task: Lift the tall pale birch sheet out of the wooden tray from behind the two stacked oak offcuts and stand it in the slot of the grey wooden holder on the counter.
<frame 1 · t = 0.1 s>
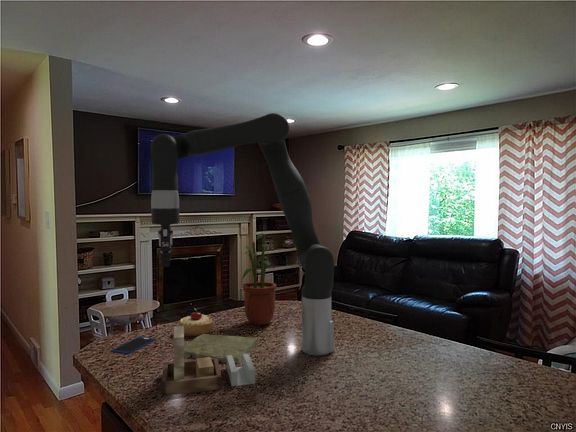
hand: (166, 264, 112), 29 cm above the kitchen island, tool pointing down, fingers open, 8 cm apart
slot stand: (240, 379, 104), on the kitchen island
pastry: (196, 333, 142), on the kitchen island
birch sheet: (179, 382, 100), point 1 cm above the kitchen island, touching wooden tray
wooden tray: (191, 384, 101), on the kitchen island
decorative tile: (218, 355, 123), on the kitchen island
oak offcut lower: (204, 379, 102), point 1 cm above the kitchen island, touching oak offcut upper, wooden tray
cell phone: (134, 347, 129), on the kitchen island
potted plant: (253, 323, 154), on the kitchen island
oak offcut upper: (204, 371, 102), point 3 cm above the kitchen island, touching oak offcut lower
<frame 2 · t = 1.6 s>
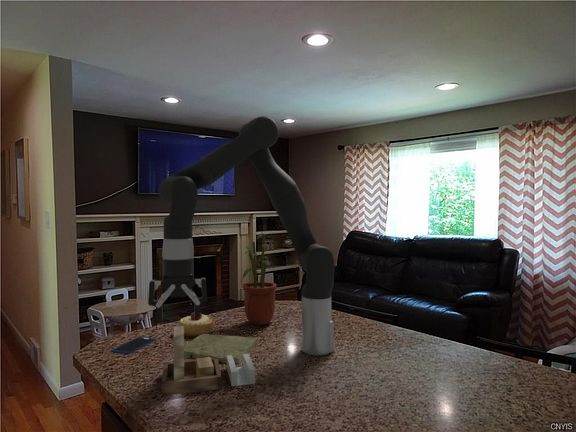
hand: (178, 320, 100), 17 cm above the kitchen island, tool pointing down, fingers open, 8 cm apart
nothing on the kitchen island moved.
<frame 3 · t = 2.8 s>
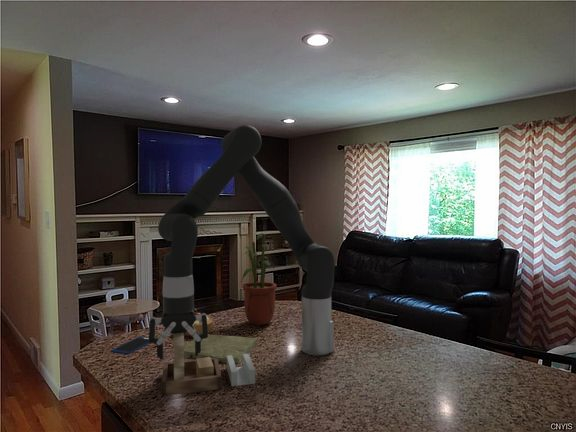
hand: (179, 356, 100), 8 cm above the kitchen island, tool pointing down, fingers open, 8 cm apart
nothing on the kitchen island moved.
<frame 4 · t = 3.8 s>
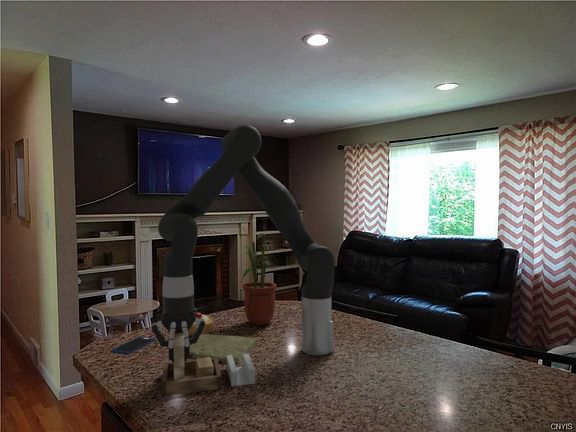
hand: (179, 360, 100), 7 cm above the kitchen island, tool pointing down, fingers closed on birch sheet, 2 cm apart
birch sheet: (179, 382, 100), point 1 cm above the kitchen island, touching gripper
everything else where it was.
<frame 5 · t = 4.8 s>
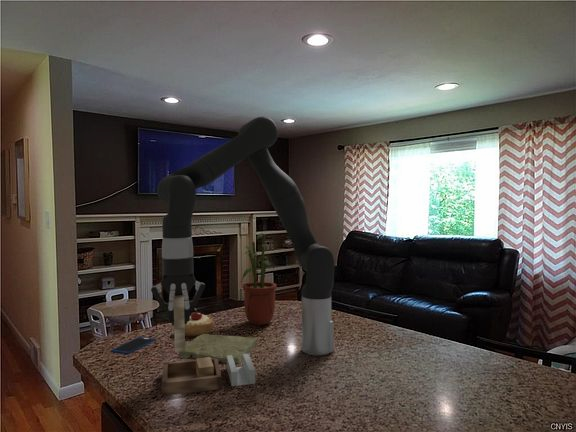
hand: (179, 323, 100), 16 cm above the kitchen island, tool pointing down, fingers closed on birch sheet, 2 cm apart
birch sheet: (180, 345, 100), point 10 cm above the kitchen island, touching gripper
everything else where it was.
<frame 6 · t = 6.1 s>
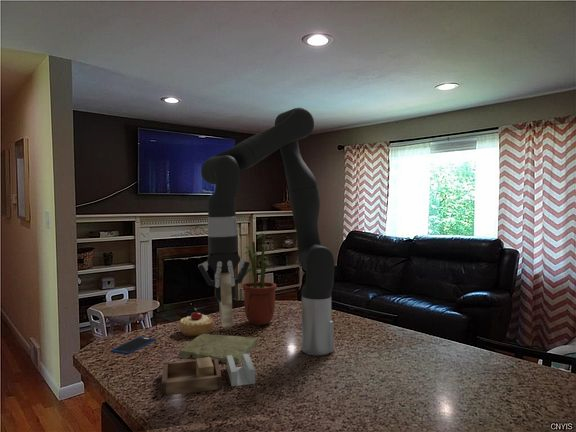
hand: (225, 300, 103), 21 cm above the kitchen island, tool pointing down, fingers closed on birch sheet, 2 cm apart
birch sheet: (226, 321, 103), point 16 cm above the kitchen island, touching gripper
everything else where it was.
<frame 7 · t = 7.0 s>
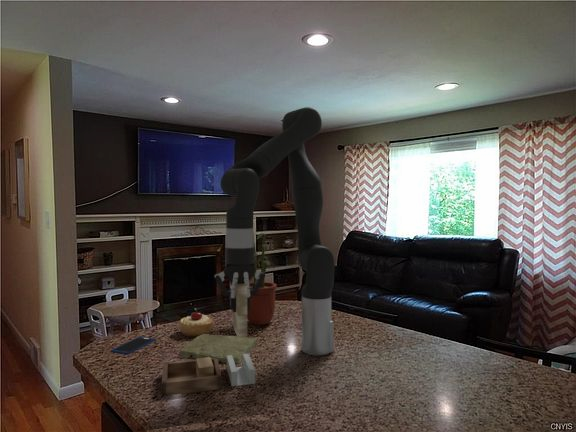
hand: (239, 310, 104), 18 cm above the kitchen island, tool pointing down, fingers closed on birch sheet, 2 cm apart
birch sheet: (240, 331, 104), point 13 cm above the kitchen island, touching gripper
everything else where it was.
when the fingers open (8 cm above the kitchen island, at t = 9.2 s): birch sheet drops 1 cm, resting on slot stand.
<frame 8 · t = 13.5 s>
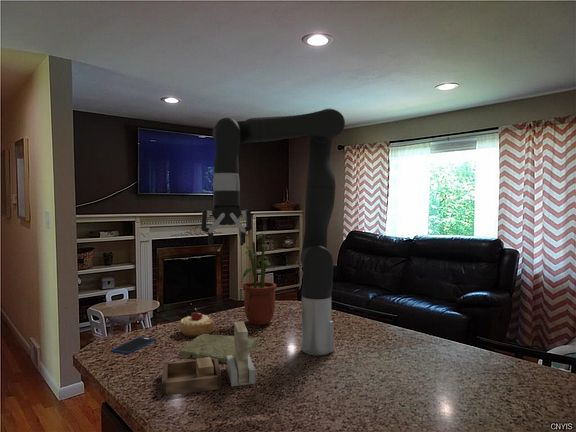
hand: (226, 245, 114), 34 cm above the kitchen island, tool pointing down, fingers open, 8 cm apart
birch sheet: (241, 375, 104), point 1 cm above the kitchen island, touching slot stand
everything else where it was.
at the end: birch sheet 0.2 cm off-centre on the slot stand, point 1.0 cm above the slot stand's base; birch sheet tilted 0°; the gripper is holding nothing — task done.
